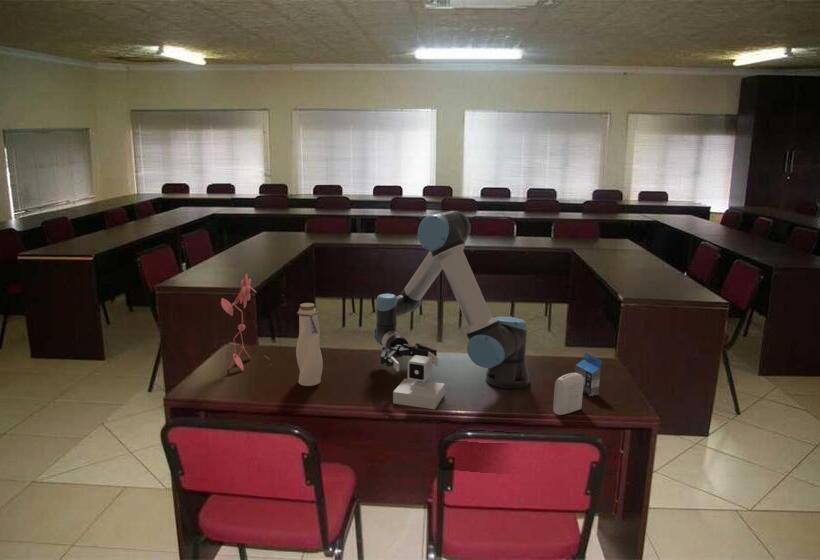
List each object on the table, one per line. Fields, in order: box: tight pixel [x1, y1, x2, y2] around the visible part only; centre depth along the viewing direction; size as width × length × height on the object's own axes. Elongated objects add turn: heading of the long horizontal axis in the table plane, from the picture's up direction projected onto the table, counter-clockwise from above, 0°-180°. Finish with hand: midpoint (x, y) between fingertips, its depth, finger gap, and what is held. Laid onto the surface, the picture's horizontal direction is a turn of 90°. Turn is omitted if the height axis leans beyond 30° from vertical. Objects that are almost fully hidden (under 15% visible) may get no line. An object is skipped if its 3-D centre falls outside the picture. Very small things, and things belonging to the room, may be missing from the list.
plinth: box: [392, 377, 446, 410], centre depth 202 cm, size 14×12×4 cm
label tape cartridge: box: [574, 352, 603, 397], centre depth 208 cm, size 9×4×12 cm, turn 23°
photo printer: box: [552, 372, 584, 416], centre depth 193 cm, size 10×4×12 cm, turn 123°
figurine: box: [220, 272, 272, 376], centre depth 226 cm, size 15×26×35 cm, turn 178°
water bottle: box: [295, 302, 324, 387], centre depth 212 cm, size 10×9×28 cm
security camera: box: [406, 355, 433, 391], centre depth 200 cm, size 6×7×10 cm
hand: (417, 364), depth 200 cm, fingers open, 13 cm apart
